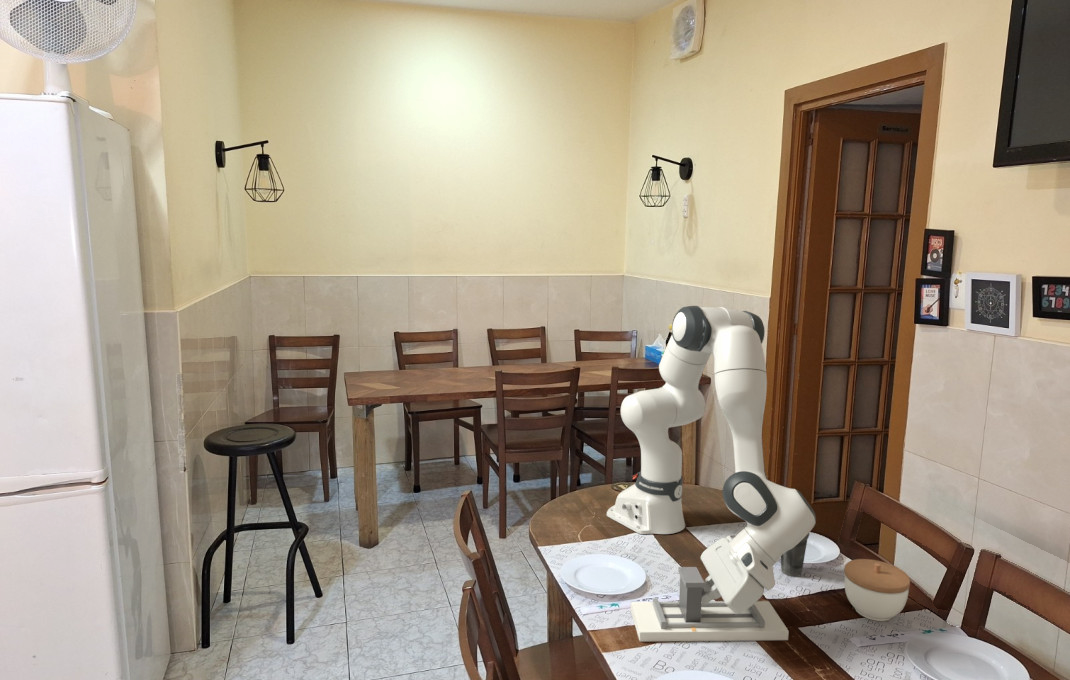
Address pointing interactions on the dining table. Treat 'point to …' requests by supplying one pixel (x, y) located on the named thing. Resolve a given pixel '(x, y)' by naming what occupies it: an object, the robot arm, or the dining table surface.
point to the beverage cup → (794, 559)
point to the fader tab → (690, 593)
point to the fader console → (707, 622)
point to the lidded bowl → (876, 588)
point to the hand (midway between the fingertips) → (700, 599)
